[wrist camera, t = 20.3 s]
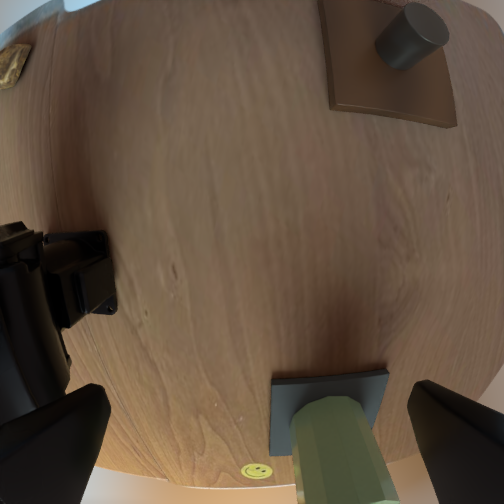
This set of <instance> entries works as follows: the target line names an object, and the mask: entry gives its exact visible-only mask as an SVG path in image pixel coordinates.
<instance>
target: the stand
mask: <svg viewBox="0 0 504 504" xmlns="http://www.w3.org/2000/svg"><path fill="white" fill-rule="evenodd" d="M318 7H319V13H320V20H321V27H322V34H323V42H324V50H325V59H326V69H327V79H328V91H329V104H330V110H335V111H346V112H356V113H364V114H372V115H379V116H386V117H392V118H398V119H404V120H409V121H414V122H419V123H424V124H429V125H433V126H438V127H442V128H446V129H447V128H451V127H455V126H457V119H456V111H455V104H454V97H453V91H452V86H451V81H450V76H449V71H448V66H447V62H446V58H445V54H444V50H443V46H444V45H445V44H446V43H447V42H448V41H449V31H448V28H447V26H446V24H445V23H444V21H443V20H442V19H441V17H440V16H439V15H438V14H437V13H436V12H434V11H433V10H432V9H430V8H429V7H427V6H425V5H423V4H420V3H416V2H412V3H408V4H407V5H406V6H405V7H404V8H403V9H402V8H399V7H395V6H392V5H388V4H385V3H381V2H377V1H373V0H318Z"/></svg>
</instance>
